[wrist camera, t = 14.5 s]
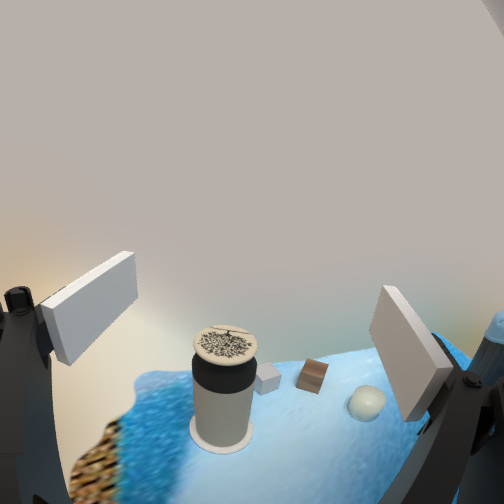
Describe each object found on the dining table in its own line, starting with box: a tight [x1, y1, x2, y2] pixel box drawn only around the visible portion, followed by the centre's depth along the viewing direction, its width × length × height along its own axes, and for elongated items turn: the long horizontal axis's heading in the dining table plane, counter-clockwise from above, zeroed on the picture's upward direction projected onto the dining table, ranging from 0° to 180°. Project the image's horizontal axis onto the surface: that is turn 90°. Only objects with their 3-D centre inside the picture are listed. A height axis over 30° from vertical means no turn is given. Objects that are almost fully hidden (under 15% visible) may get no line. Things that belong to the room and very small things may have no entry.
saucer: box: [189, 415, 253, 454], centre depth 36 cm, size 10×10×1 cm
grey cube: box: [254, 362, 281, 395], centre depth 47 cm, size 4×4×4 cm
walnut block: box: [296, 359, 329, 394], centre depth 48 cm, size 4×4×4 cm
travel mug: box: [192, 325, 258, 447], centre depth 33 cm, size 8×8×18 cm
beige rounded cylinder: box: [348, 385, 386, 422], centre depth 41 cm, size 6×6×4 cm
